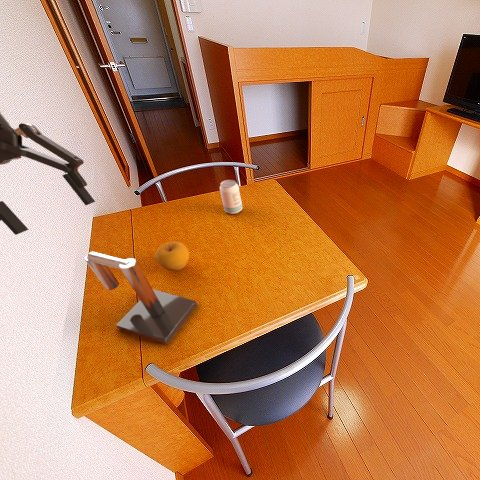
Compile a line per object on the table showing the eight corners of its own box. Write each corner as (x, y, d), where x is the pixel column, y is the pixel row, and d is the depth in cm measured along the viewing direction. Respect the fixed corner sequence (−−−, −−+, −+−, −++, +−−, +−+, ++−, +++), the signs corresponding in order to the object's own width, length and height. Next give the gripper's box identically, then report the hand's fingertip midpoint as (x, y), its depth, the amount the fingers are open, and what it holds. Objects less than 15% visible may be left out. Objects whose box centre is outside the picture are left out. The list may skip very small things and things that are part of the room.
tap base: (197, 305, 75) (195, 300, 73) (167, 345, 66) (164, 340, 64) (153, 293, 77) (151, 288, 76) (119, 329, 68) (115, 325, 67)
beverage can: (229, 204, 112) (223, 177, 104) (245, 206, 111) (241, 180, 103) (221, 214, 107) (215, 186, 99) (238, 216, 106) (232, 189, 98)
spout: (166, 308, 71) (139, 259, 59) (157, 318, 68) (127, 269, 57) (124, 296, 73) (90, 246, 62) (115, 305, 71) (77, 256, 59)
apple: (155, 274, 82) (143, 252, 76) (174, 254, 89) (164, 233, 83) (182, 280, 81) (172, 258, 75) (199, 259, 88) (191, 238, 82)
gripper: (52, 87, 52) (124, 189, 61) (-91, 138, 49) (6, 238, 57) (25, 78, 45) (110, 195, 54) (-143, 137, 42) (-24, 251, 51)
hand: (57, 217), depth 56 cm, fingers open, 13 cm apart
